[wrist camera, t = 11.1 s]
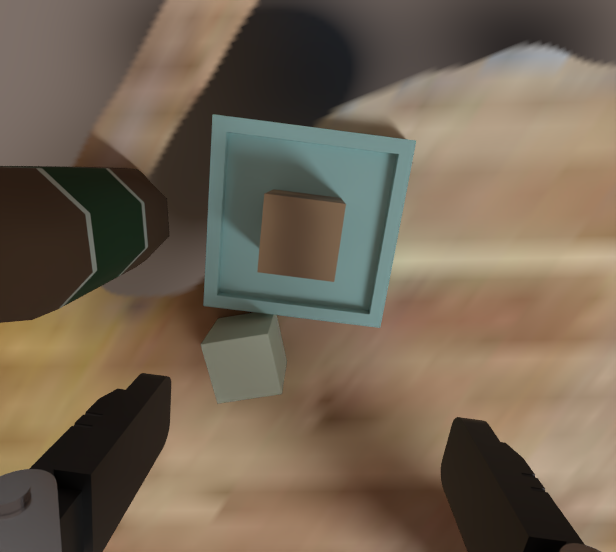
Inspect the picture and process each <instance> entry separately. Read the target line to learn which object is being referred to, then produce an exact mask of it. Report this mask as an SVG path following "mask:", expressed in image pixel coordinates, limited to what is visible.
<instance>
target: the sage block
mask: <svg viewBox="0 0 616 552" xmlns="http://www.w3.org/2000/svg"><path fill="white" fill-rule="evenodd" d="M201 348H202V351H203V355H204V358H205V362H206V365H207V369H208V372H209V376H210V379H211V383H212V386H213V390H214V393H215V396H216V400H217V403H218V404H219V403H225V402H232V401H239V400H246V399H252V398H259V397H266V396H272V395H279V394H282V391H283V384H284V378H285V371H286V365H287V359H286V355H285V350H284V346H283V341H282V337H281V332H280V328H279V323H278V319H277V315H273V314H265V313H257V312H254V313H248V314H242V315H236V316H230V317H224V318H218V319H217V321H216V322H215V324H214V325H213V327H212V328H211V330H210V331H209V333H208V334H207V336H206V337H205V339H204V340H203V342H202V343H201Z"/></svg>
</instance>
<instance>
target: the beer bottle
mask: <svg viewBox="0 0 616 552" xmlns="http://www.w3.org/2000/svg"><path fill="white" fill-rule="evenodd" d="M168 237H169V222H168V208H167V198H166V197H165V196H164V195H163V194H162V193H161V192H160V191H159V190H158V189H157V188H156V187H155V186H154V185H153V184H152V183H151V182H150V181H149V180H148V179H147V178H146V177H145V176H144V175H143V174H142V173H141V172H140V171H139V170H135V169H127V168H101V167H40V166H38V167H37V166H34V167H33V166H0V323H1V322H13V321H24V320H33V319H35V318H38V317H40V316H42V315H45V314H47V313H50V312H52V311H55V310H57V309H59V308H61V307H63V306H65V305H67V304H68V303H70V302H72V301H74V300H76V299H78V298H80V297H81V296H83V295H85V294H87V293H89V292H91V291H92V290H94V289H96V288H98V287H100V286H102V285H104V284H105V283H107V282H109V281H111V280H113V279H114V278H116V277H118V276H120V275H122V274H124V273H126V272H128V271H129V270H131V269H133V268H135V267H137V266H138V265H140V264H141V263H142V262H144V261H145V260H146V259H147V258H148V257H149V256H150V255H151V254H152V253H153V252H154V251H155V250H156V249H157V248H158V247H159V246H160V245H161V244H162V243H163V242H164V241H165V240H166V239H167V238H168Z"/></svg>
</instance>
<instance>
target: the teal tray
mask: <svg viewBox="0 0 616 552" xmlns="http://www.w3.org/2000/svg"><path fill="white" fill-rule="evenodd" d="M415 144H416V141H415V140H407V139H400V138H392V137H384V136H376V135H369V134H361V133H353V132H346V131H338V130H330V129H323V128H315V127H307V126H299V125H292V124H284V123H276V122H269V121H261V120H253V119H246V118H238V117H230V116H223V115H215V114H213V116H212V138H211V158H210V179H209V180H210V181H209V200H208V220H207V222H208V223H207V242H206V262H205V283H204V304H203V306H208V307H216V308H224V309H233V310H241V311H249V312H257V313H265V314H273V315H281V316H289V317H297V318H305V319H313V320H321V321H329V322H338V323H346V324H354V325H362V326H370V327H378V328H380V326H381V321H382V316H383V310H384V305H385V300H386V295H387V290H388V284H389V279H390V274H391V269H392V264H393V259H394V253H395V248H396V243H397V238H398V233H399V227H400V222H401V217H402V212H403V207H404V201H405V196H406V191H407V186H408V181H409V176H410V170H411V165H412V160H413V155H414V150H415ZM273 189H275V190H283V191H291V192H299V193H307V194H314V195H322V196H330V197H338V198H341V199H342V200H343V201H344V202H345V203H346V208H345V214H344V221H343V228H342V234H341V241H340V248H339V254H338V261H337V267H336V274H335V281H334V282H330V281H322V280H314V279H306V278H298V277H290V276H282V275H274V274H266V273H258V272H257V270H258V259H259V247H260V236H261V225H262V214H263V203H264V193H267V192H269V191H271V190H273Z"/></svg>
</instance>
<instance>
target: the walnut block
mask: <svg viewBox="0 0 616 552" xmlns="http://www.w3.org/2000/svg"><path fill="white" fill-rule="evenodd" d="M345 208H346V203H345V202H344V201H343V200H342V199H341V198H338V197H330V196H322V195H314V194H307V193H299V192H291V191H283V190H275V189H273V190H271V191H269V192H267V193H264V203H263V214H262V225H261V236H260V247H259V259H258V270H257V272H258V273H266V274H274V275H282V276H290V277H298V278H306V279H314V280H322V281H330V282H334V281H335V274H336V267H337V261H338V254H339V248H340V241H341V234H342V228H343V221H344V214H345Z"/></svg>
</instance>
